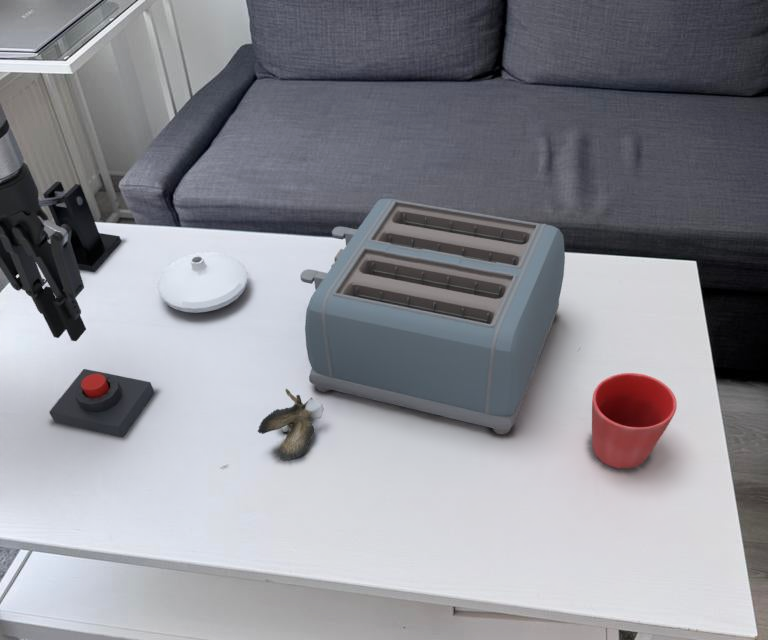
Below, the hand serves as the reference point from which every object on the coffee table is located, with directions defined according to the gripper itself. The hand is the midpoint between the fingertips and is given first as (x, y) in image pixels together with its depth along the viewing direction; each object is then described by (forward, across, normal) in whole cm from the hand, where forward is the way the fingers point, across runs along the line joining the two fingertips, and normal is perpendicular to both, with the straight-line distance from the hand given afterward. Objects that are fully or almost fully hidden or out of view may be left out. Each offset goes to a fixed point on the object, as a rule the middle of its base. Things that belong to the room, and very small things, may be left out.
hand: (70, 332), depth 104 cm
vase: (+15, -3, -30) cm, 34 cm away
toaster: (+15, -45, -26) cm, 54 cm away
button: (+11, 0, 0) cm, 11 cm away
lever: (+3, +25, -31) cm, 40 cm away
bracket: (+14, +25, -36) cm, 46 cm away
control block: (+14, 0, 0) cm, 14 cm away
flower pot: (+15, -77, -12) cm, 79 cm away
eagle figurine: (+15, -31, -2) cm, 34 cm away
